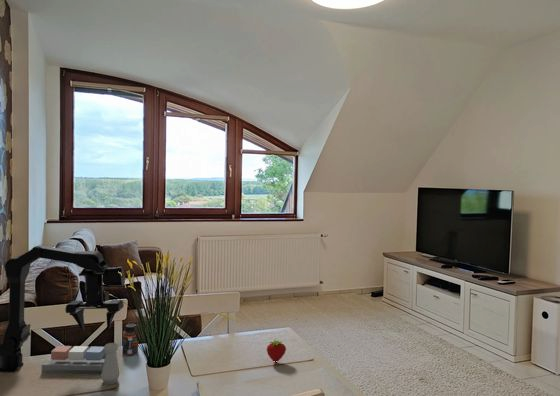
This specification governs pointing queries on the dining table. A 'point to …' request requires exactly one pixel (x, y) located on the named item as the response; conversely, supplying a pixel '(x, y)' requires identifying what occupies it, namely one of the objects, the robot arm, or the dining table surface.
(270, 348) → the strawberry
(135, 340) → the supplement bottle
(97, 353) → the blue-grey square block
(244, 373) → the dining table surface
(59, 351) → the key red
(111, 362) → the salt shaker
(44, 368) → the panel
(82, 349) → the off-white square block
